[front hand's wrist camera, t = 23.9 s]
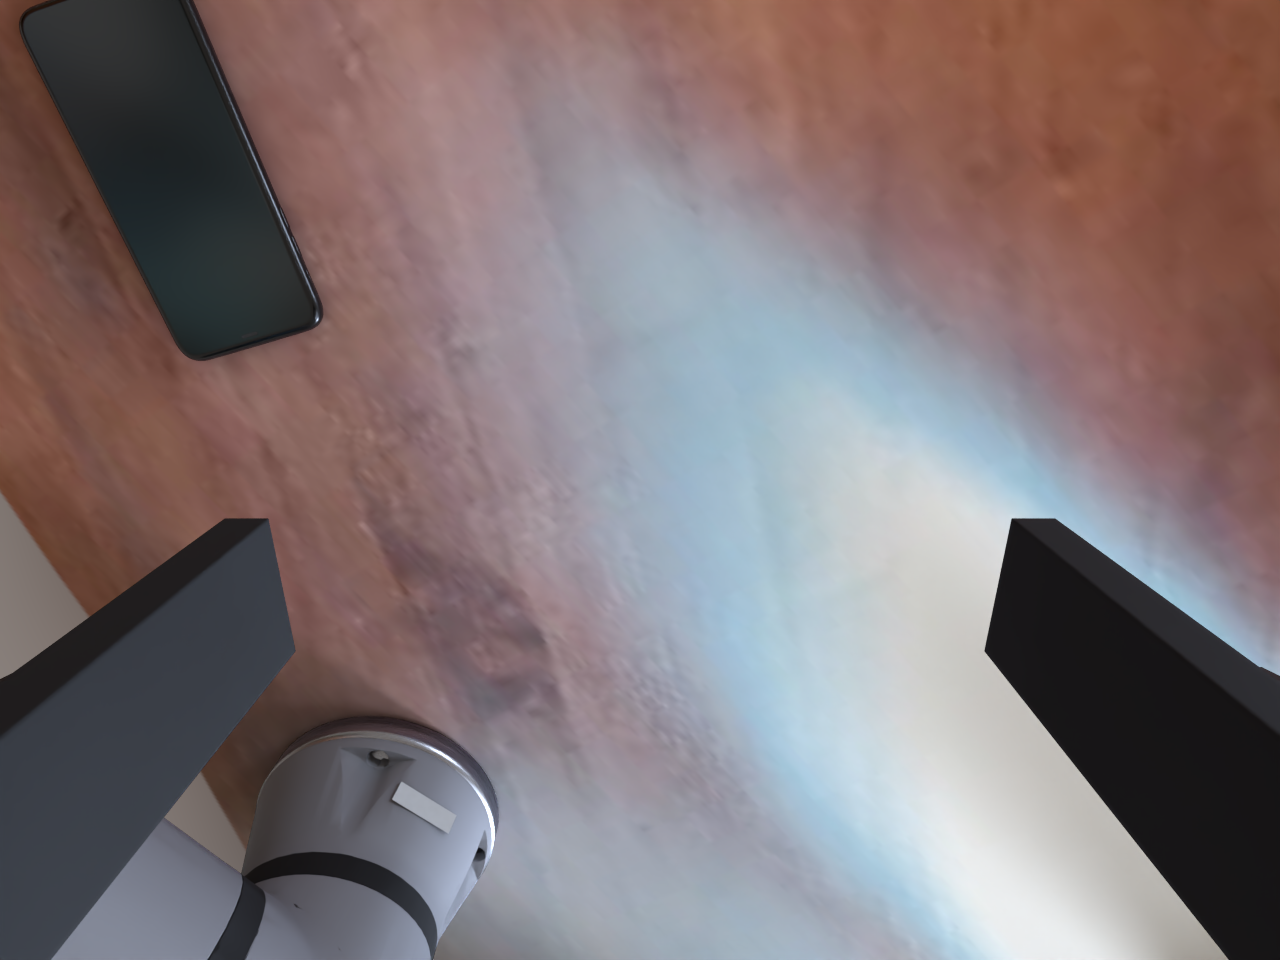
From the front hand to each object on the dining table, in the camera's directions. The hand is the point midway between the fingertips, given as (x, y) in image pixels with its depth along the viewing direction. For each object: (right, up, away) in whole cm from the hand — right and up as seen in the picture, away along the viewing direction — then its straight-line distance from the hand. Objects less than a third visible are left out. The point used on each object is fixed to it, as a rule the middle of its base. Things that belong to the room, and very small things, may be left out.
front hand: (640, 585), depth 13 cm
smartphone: (-22, +16, +21) cm, 34 cm away
